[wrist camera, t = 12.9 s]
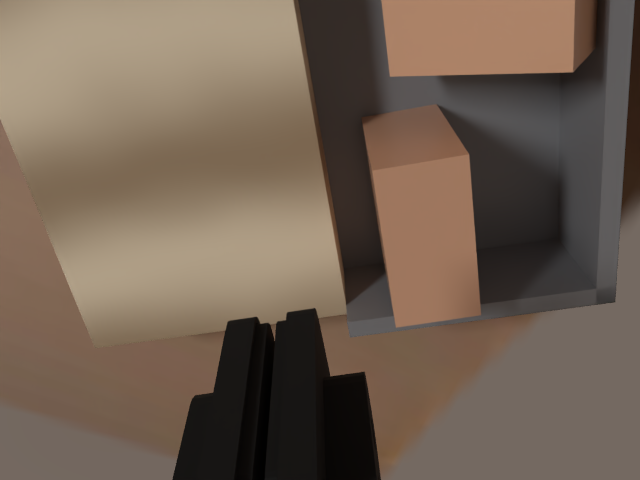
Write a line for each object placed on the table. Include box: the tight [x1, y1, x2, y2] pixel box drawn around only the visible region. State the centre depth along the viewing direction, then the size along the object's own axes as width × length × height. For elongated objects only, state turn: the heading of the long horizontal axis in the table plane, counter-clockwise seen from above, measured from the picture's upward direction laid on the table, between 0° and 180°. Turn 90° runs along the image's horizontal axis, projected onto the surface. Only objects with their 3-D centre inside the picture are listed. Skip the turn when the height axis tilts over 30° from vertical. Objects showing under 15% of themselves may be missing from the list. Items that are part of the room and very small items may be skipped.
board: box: [0, 0, 347, 348], centre depth 20 cm, size 13×9×3 cm
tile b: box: [361, 104, 481, 328], centre depth 19 cm, size 5×5×2 cm
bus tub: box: [298, 0, 635, 337], centre depth 18 cm, size 14×8×4 cm, turn 9°
